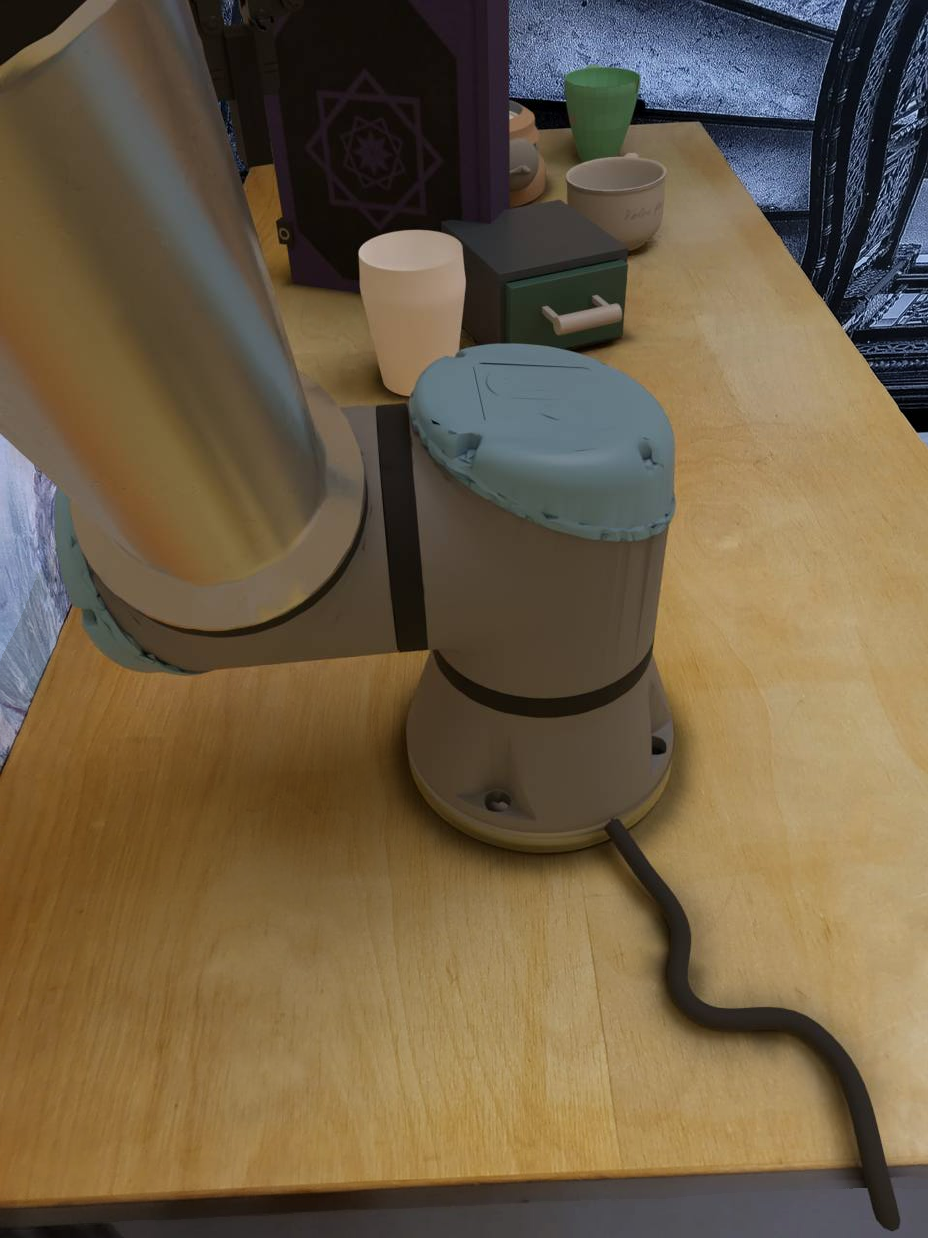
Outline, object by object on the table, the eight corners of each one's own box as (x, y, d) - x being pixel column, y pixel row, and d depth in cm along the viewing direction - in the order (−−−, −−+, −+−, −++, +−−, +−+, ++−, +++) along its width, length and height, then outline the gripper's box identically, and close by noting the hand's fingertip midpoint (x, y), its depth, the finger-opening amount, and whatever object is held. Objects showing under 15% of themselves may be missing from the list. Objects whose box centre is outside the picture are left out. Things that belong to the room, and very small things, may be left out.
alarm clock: (548, 89, 128) (542, 147, 111) (547, 165, 134) (541, 231, 117) (416, 91, 129) (389, 148, 112) (420, 166, 136) (396, 231, 119)
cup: (457, 408, 88) (452, 274, 80) (358, 400, 89) (343, 268, 81) (477, 359, 94) (474, 231, 86) (384, 353, 96) (372, 226, 88)
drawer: (646, 354, 92) (653, 281, 87) (531, 382, 89) (531, 307, 84) (563, 285, 104) (565, 217, 99) (458, 307, 101) (456, 238, 96)
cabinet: (621, 338, 96) (628, 247, 91) (499, 366, 93) (498, 273, 87) (557, 284, 106) (560, 198, 100) (444, 308, 103) (440, 221, 97)
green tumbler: (641, 168, 132) (647, 84, 125) (566, 172, 132) (569, 88, 125) (621, 134, 143) (626, 55, 136) (552, 138, 143) (554, 59, 136)
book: (511, 291, 106) (510, -45, 86) (491, 317, 102) (484, -31, 82) (313, 265, 113) (269, -52, 93) (286, 288, 109) (234, -39, 89)
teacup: (635, 269, 108) (641, 193, 103) (546, 251, 113) (548, 177, 107) (685, 225, 117) (693, 153, 112) (601, 210, 121) (605, 140, 116)
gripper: (286, -426, 46) (344, 124, 62) (-11, -425, 43) (130, 157, 59) (333, -448, 41) (384, 159, 57) (-1, -449, 38) (151, 198, 53)
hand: (255, 158), depth 58 cm, fingers closed
